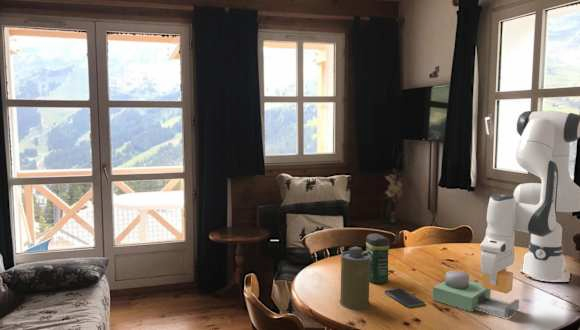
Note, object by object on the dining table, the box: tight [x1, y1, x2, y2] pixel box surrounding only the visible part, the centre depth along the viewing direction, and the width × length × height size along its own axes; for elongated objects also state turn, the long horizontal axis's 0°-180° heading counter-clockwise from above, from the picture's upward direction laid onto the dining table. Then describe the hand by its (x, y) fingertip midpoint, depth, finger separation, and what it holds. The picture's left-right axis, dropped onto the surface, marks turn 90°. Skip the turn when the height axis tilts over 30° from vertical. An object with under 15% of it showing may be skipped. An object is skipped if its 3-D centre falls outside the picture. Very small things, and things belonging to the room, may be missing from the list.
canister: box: [339, 245, 371, 310], centre depth 161 cm, size 11×10×20 cm
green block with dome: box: [432, 270, 492, 312], centre depth 165 cm, size 16×14×9 cm
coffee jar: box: [365, 233, 390, 284], centre depth 184 cm, size 10×8×19 cm
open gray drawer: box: [475, 296, 520, 320], centre depth 156 cm, size 10×11×4 cm
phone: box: [383, 288, 426, 309], centre depth 166 cm, size 8×1×15 cm
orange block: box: [481, 270, 514, 295], centre depth 155 cm, size 5×8×6 cm, turn 45°
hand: (497, 282), depth 155 cm, fingers closed on orange block, 5 cm apart
